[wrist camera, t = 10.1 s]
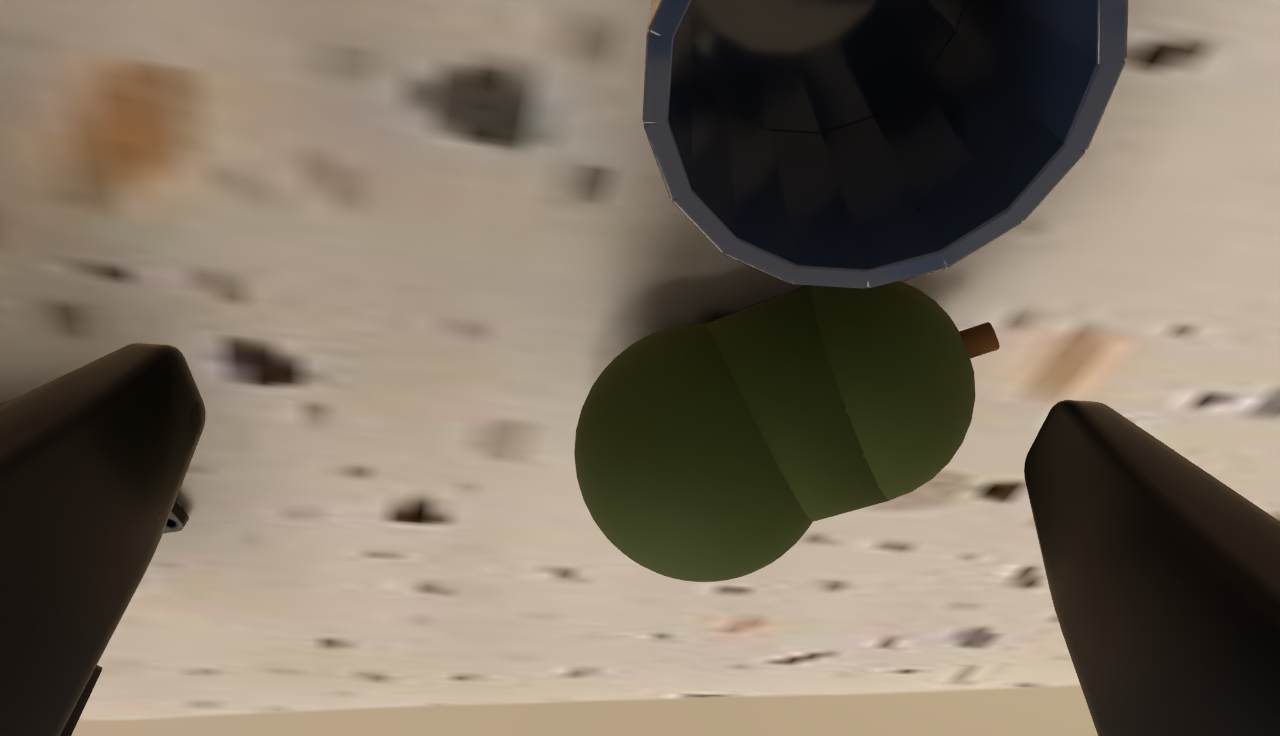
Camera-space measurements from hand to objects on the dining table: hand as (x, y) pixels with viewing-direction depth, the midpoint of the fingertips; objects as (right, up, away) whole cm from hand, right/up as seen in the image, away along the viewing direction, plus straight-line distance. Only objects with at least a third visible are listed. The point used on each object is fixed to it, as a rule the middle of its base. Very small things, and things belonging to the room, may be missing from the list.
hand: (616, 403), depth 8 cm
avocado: (+4, +1, +14) cm, 15 cm away
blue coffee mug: (+4, +10, +7) cm, 13 cm away
